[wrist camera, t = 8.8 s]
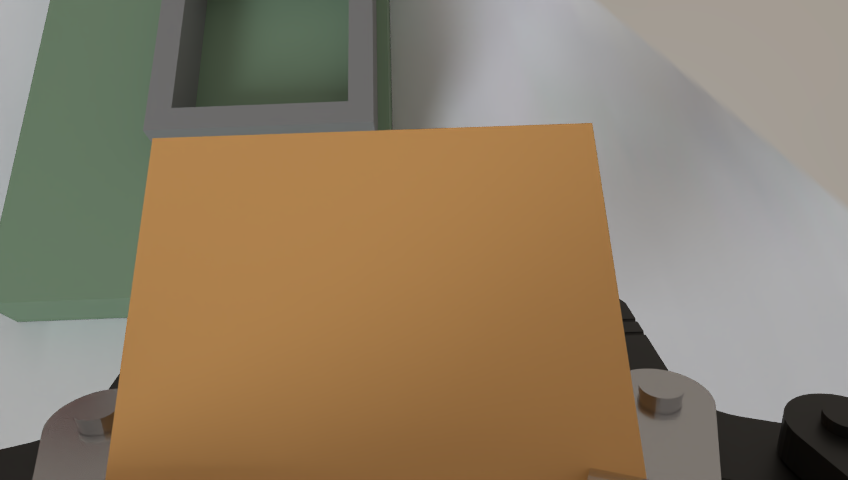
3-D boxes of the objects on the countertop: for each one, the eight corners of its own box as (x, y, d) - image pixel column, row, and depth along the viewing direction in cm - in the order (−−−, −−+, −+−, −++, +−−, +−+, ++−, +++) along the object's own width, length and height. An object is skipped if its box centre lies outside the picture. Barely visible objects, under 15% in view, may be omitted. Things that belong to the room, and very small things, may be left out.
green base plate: (95, -66, 38) (48, -150, 33) (387, -77, 38) (381, -162, 33) (17, 321, 29) (-61, 282, 24) (396, 307, 29) (388, 264, 24)
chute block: (302, 351, 17) (152, 138, 8) (504, 344, 17) (592, 122, 8) (294, 576, 15) (82, 644, 6) (522, 566, 15) (668, 622, 6)
